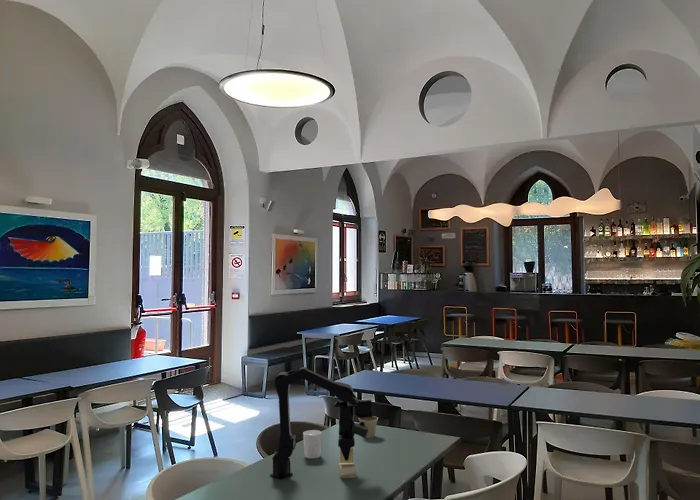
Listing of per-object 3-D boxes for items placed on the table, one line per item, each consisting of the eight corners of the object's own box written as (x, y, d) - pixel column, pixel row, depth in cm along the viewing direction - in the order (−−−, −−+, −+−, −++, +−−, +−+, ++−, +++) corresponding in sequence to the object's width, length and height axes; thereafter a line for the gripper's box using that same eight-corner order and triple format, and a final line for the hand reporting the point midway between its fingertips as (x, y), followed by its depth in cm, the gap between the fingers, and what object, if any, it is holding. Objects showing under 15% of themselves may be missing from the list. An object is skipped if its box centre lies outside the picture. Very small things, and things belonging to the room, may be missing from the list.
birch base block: (355, 478, 213) (355, 467, 214) (340, 478, 213) (340, 468, 213) (353, 472, 219) (353, 462, 219) (338, 473, 219) (338, 463, 219)
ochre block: (353, 462, 214) (353, 449, 214) (340, 463, 214) (340, 449, 214) (353, 458, 219) (352, 445, 219) (340, 458, 219) (340, 445, 219)
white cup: (299, 457, 237) (299, 434, 237) (309, 452, 244) (309, 429, 244) (315, 460, 233) (315, 436, 234) (325, 454, 240) (324, 431, 241)
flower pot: (381, 435, 267) (381, 417, 268) (372, 440, 259) (372, 421, 260) (365, 432, 272) (364, 414, 273) (355, 437, 264) (354, 419, 265)
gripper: (367, 424, 208) (368, 466, 207) (365, 411, 226) (366, 450, 226) (338, 424, 207) (338, 466, 207) (338, 411, 226) (339, 450, 226)
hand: (346, 458), depth 216 cm, fingers closed on ochre block, 5 cm apart
